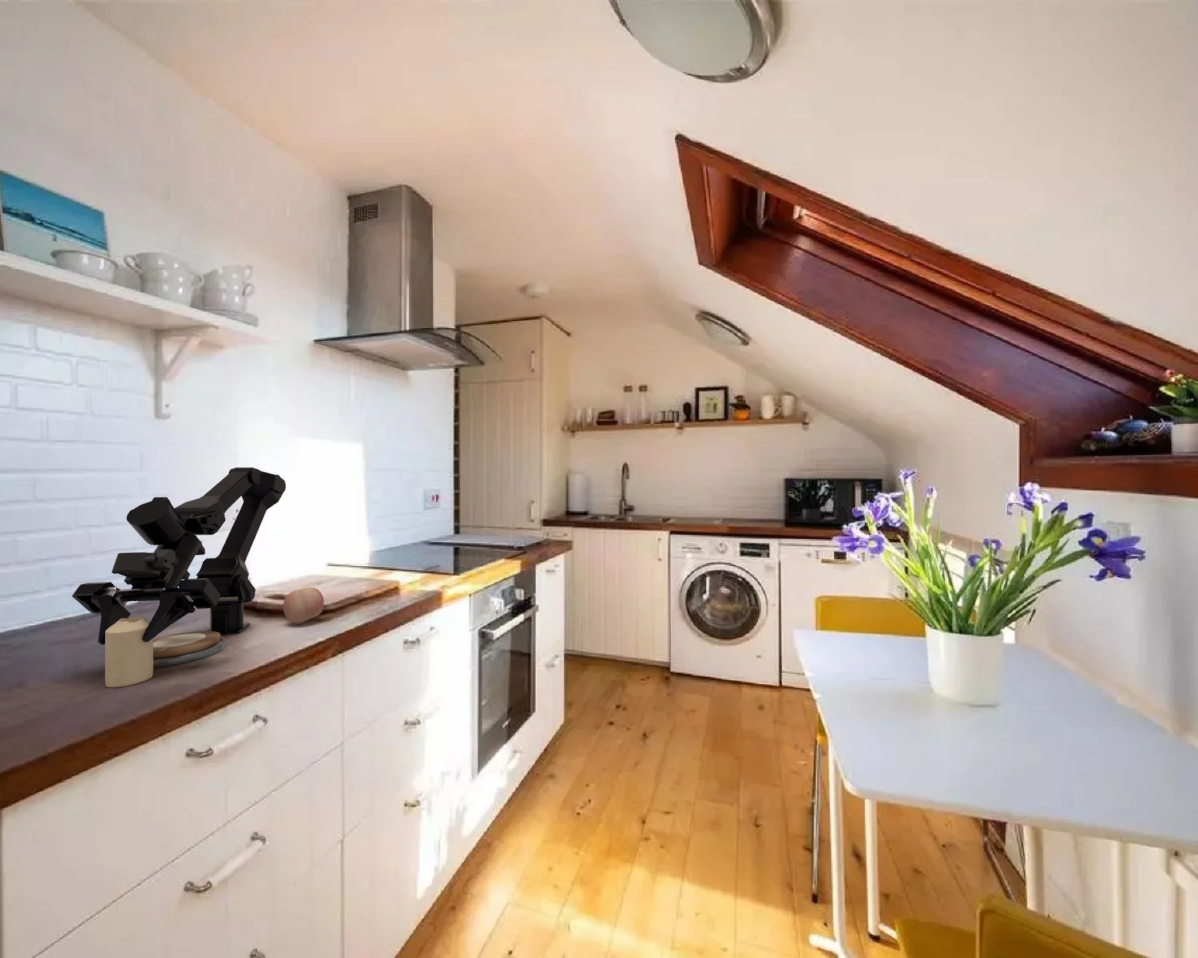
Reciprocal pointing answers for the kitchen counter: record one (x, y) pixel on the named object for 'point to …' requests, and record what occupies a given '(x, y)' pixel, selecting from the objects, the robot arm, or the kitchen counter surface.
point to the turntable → (184, 643)
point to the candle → (127, 653)
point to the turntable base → (188, 656)
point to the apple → (303, 605)
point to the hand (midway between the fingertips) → (122, 642)
